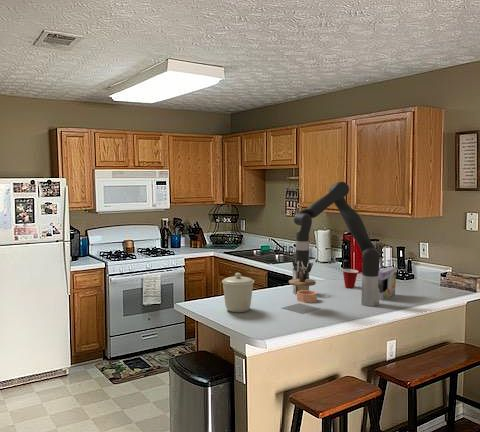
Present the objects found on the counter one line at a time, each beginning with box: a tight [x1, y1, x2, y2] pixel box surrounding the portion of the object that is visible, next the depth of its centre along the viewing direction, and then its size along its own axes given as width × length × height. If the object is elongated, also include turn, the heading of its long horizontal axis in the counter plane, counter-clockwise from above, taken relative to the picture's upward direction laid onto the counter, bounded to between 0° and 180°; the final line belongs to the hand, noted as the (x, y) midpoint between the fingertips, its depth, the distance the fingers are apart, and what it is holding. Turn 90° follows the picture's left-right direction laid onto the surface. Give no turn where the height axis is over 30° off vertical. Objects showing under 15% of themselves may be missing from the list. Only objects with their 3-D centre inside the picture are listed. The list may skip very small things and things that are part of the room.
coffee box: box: [292, 267, 310, 295], centre depth 315 cm, size 9×6×16 cm
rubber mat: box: [281, 302, 321, 315], centre depth 279 cm, size 16×16×1 cm
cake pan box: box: [378, 266, 397, 301], centre depth 306 cm, size 19×5×18 cm, turn 136°
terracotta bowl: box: [296, 289, 318, 304], centre depth 297 cm, size 11×11×5 cm
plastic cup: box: [341, 268, 359, 289], centre depth 332 cm, size 11×11×12 cm
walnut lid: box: [288, 270, 317, 287], centre depth 278 cm, size 15×15×7 cm
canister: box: [221, 272, 255, 313], centre depth 275 cm, size 18×18×21 cm
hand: (302, 279), depth 278 cm, fingers closed on walnut lid, 3 cm apart
